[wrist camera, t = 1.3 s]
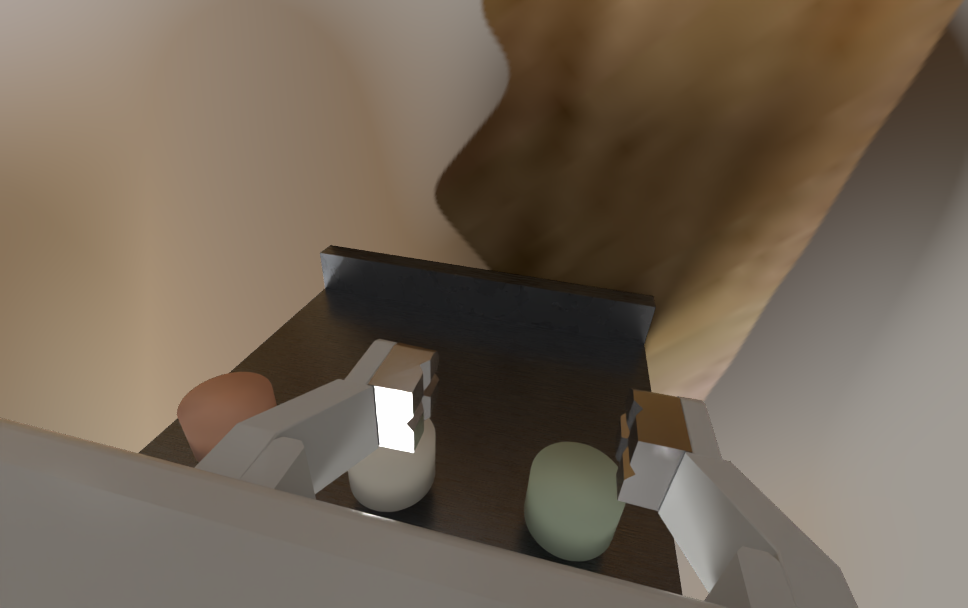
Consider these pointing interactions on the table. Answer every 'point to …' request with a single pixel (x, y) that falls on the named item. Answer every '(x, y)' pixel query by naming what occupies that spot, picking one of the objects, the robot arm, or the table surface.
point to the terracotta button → (222, 408)
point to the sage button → (572, 501)
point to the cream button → (395, 475)
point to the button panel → (479, 389)
